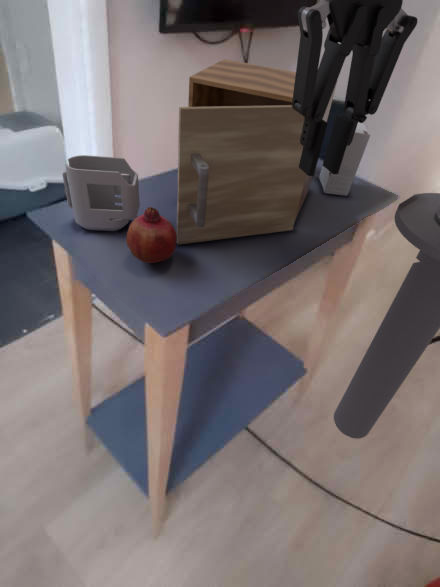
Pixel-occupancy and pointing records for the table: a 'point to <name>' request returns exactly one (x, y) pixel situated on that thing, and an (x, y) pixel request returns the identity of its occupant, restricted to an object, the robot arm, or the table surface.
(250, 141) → the cupboard door
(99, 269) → the table surface
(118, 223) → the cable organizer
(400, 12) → the robot arm
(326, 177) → the cosmetic box
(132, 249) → the fruit
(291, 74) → the cupboard
